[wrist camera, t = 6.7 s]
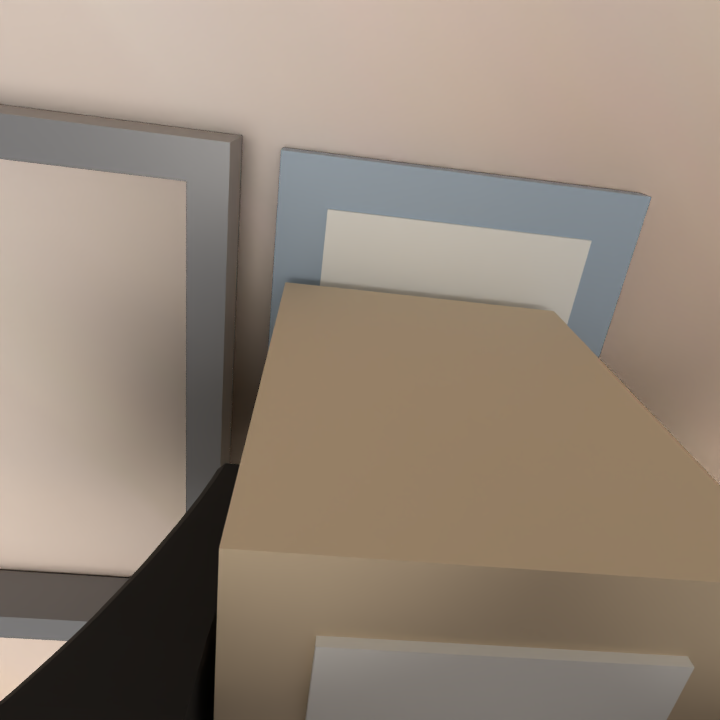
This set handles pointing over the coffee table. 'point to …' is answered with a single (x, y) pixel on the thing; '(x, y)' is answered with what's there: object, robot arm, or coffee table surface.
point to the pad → (454, 236)
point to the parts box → (460, 527)
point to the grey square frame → (203, 313)
